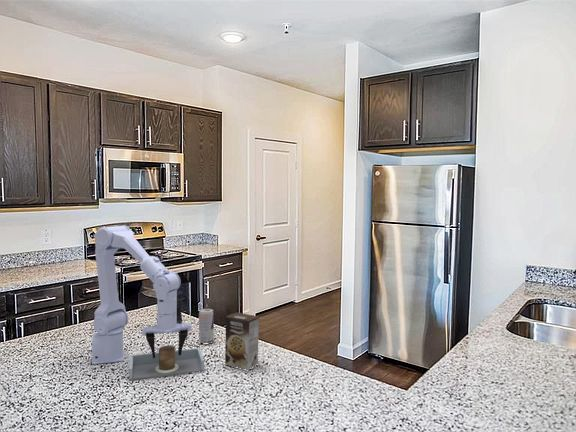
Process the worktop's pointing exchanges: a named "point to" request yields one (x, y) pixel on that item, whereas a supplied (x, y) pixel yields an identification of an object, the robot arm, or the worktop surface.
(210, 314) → the energy drink
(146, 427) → the worktop surface
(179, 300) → the storage jar
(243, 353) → the coffee box
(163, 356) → the brown cylinder
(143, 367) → the grey tray
